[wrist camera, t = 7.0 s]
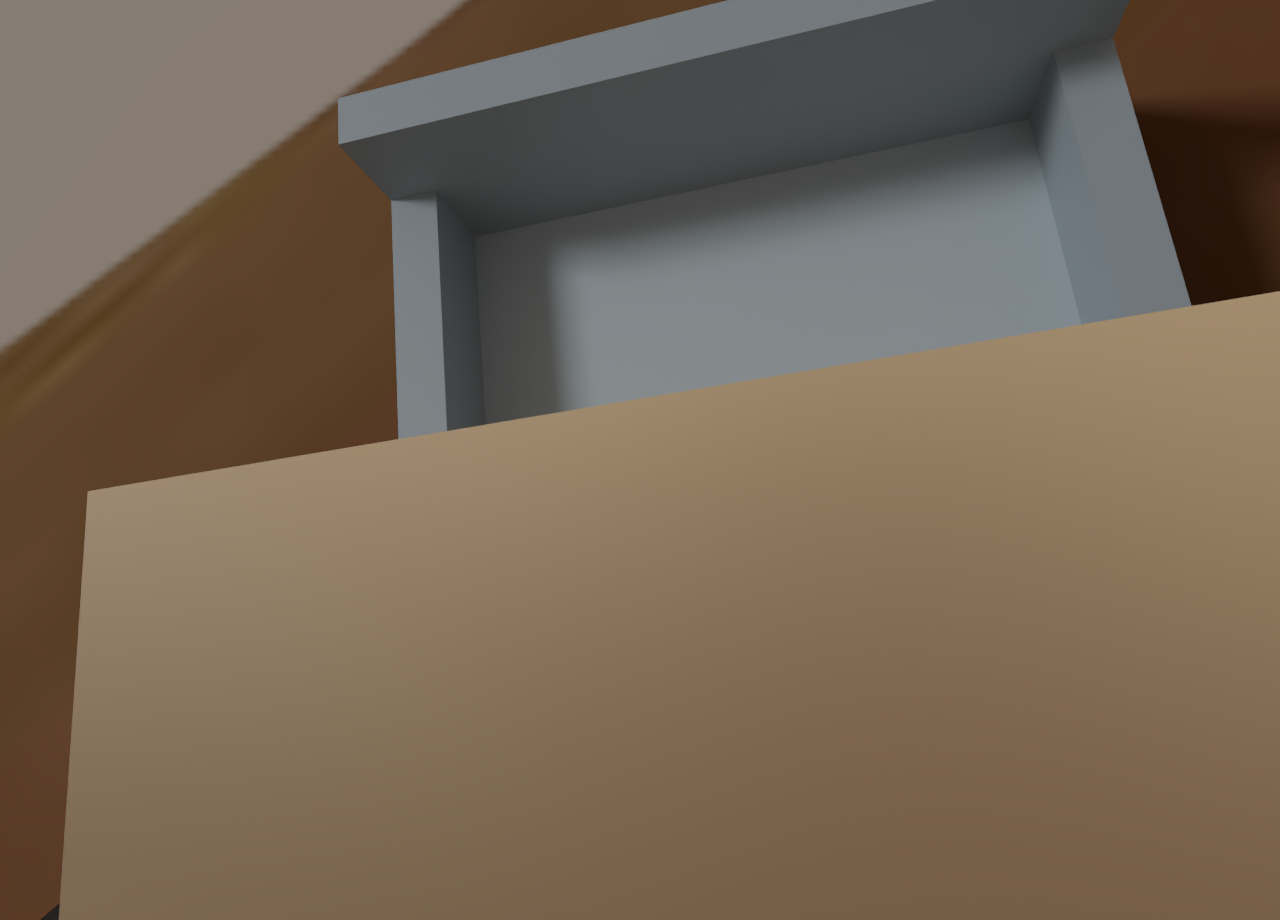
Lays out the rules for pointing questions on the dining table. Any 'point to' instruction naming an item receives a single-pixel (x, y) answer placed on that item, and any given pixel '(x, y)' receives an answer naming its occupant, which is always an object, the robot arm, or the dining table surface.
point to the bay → (757, 199)
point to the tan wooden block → (715, 653)
